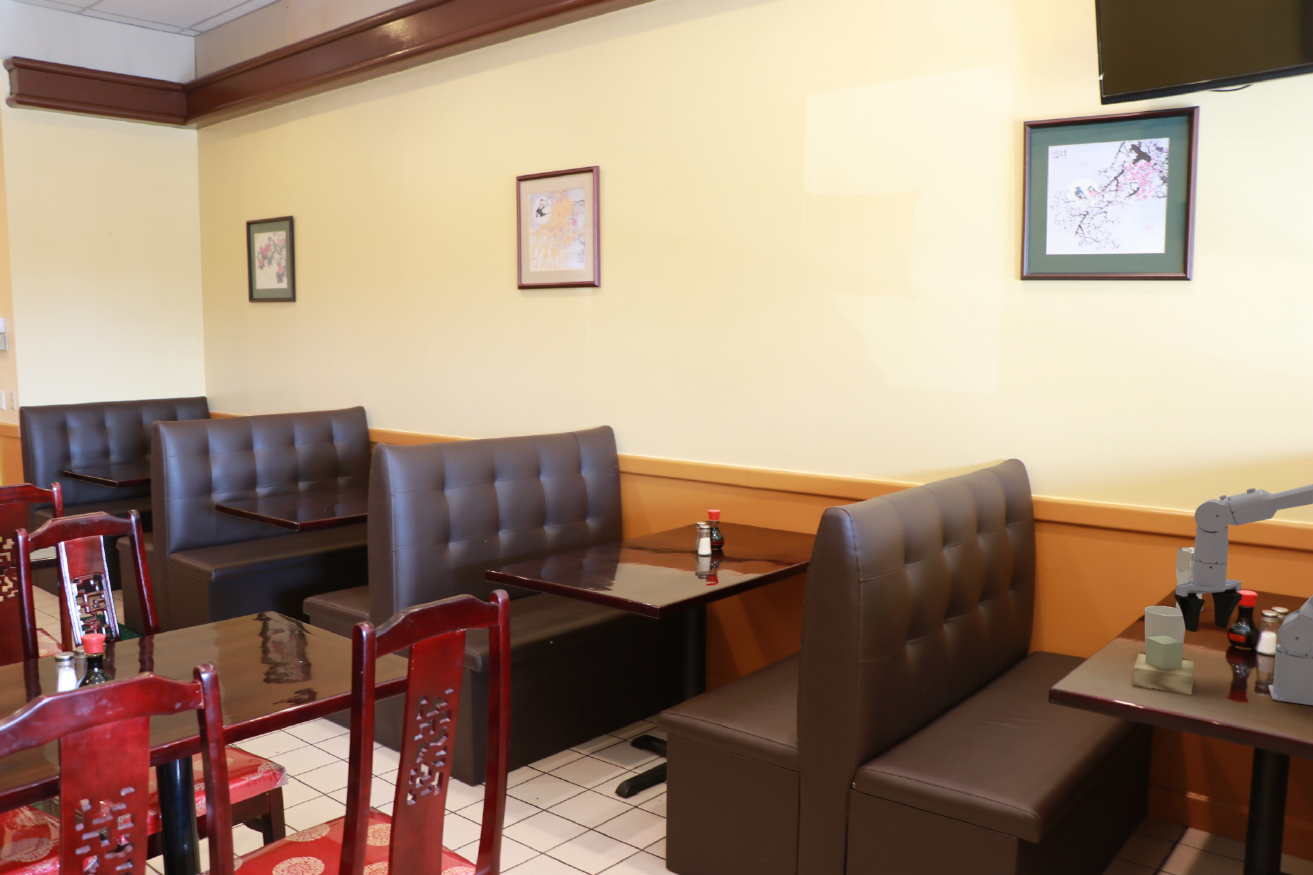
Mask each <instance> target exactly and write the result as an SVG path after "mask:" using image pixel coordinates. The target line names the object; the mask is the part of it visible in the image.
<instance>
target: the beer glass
mask: <svg viewBox="0 0 1313 875" xmlns="http://www.w3.org/2000/svg"><path fill="white" fill-rule="evenodd" d="M1194 549H1195V547H1190V546H1185V547H1184V546H1183V547H1178V548H1177V552H1176V559H1175V576H1176V577H1175V578H1176V585H1178V584H1183V583H1186V582H1189V579H1192V578H1193V566H1194ZM1197 596H1198V598H1200V599H1202V598H1203V594H1197ZM1175 608H1177V609H1180V607H1179V604H1178V602H1177V601H1176V604H1175ZM1203 610H1204V606H1203V607H1202V609H1201V612H1202V611H1203Z"/></svg>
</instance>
